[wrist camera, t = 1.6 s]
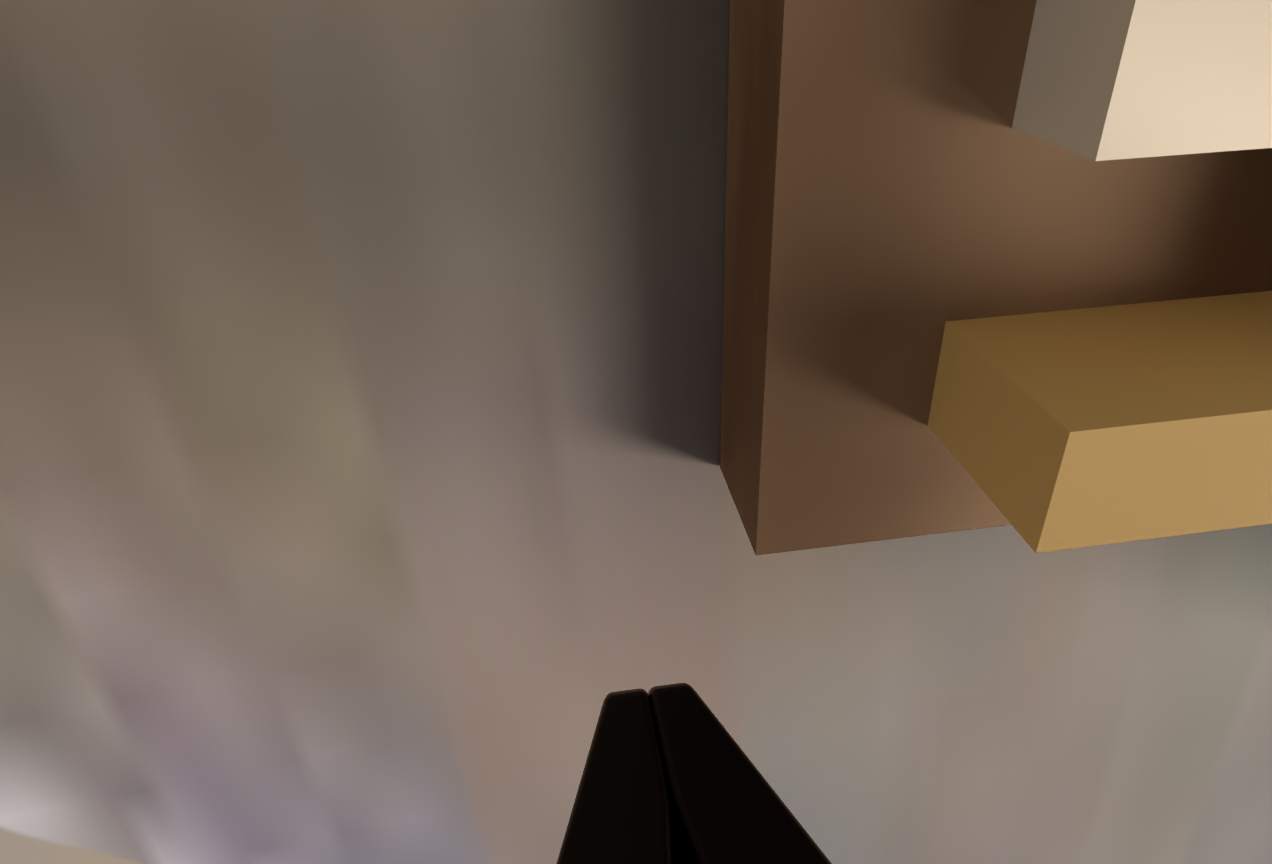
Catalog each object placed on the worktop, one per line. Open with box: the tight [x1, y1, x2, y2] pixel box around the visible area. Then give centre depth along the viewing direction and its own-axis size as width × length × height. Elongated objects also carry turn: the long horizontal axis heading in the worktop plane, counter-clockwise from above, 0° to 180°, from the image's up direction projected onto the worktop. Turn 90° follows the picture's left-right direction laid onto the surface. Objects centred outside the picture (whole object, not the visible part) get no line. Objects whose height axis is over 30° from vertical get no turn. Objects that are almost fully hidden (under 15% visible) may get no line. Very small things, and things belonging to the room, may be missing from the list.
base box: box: [720, 0, 1272, 555], centre depth 13 cm, size 17×17×3 cm
